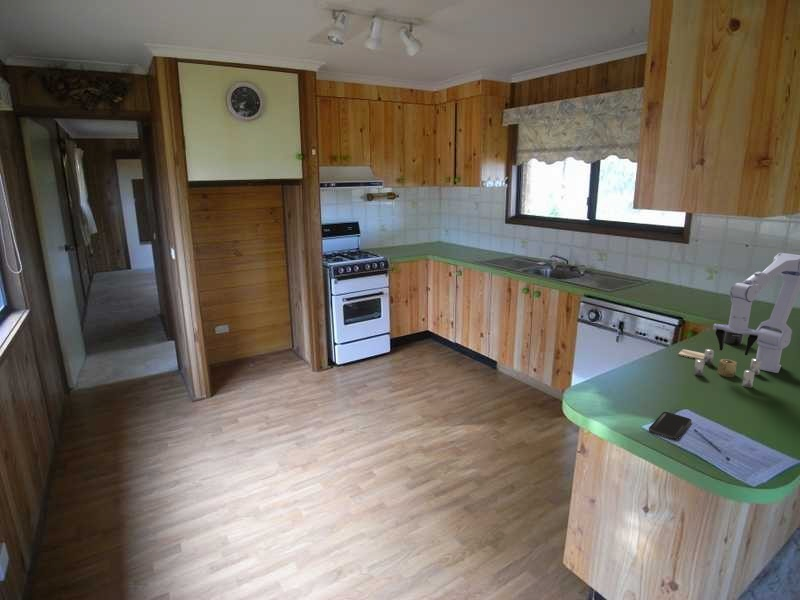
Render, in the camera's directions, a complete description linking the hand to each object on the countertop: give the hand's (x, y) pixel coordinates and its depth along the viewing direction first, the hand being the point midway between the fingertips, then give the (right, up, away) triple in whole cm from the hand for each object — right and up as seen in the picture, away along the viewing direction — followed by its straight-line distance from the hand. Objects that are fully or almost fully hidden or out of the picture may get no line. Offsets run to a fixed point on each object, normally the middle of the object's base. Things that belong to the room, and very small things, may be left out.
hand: (733, 352), depth 173 cm
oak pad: (-1, -4, +23) cm, 23 cm away
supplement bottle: (+26, 0, +37) cm, 45 cm away
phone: (-42, -19, -32) cm, 56 cm away
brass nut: (0, -9, +4) cm, 10 cm away
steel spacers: (0, -9, +4) cm, 10 cm away
